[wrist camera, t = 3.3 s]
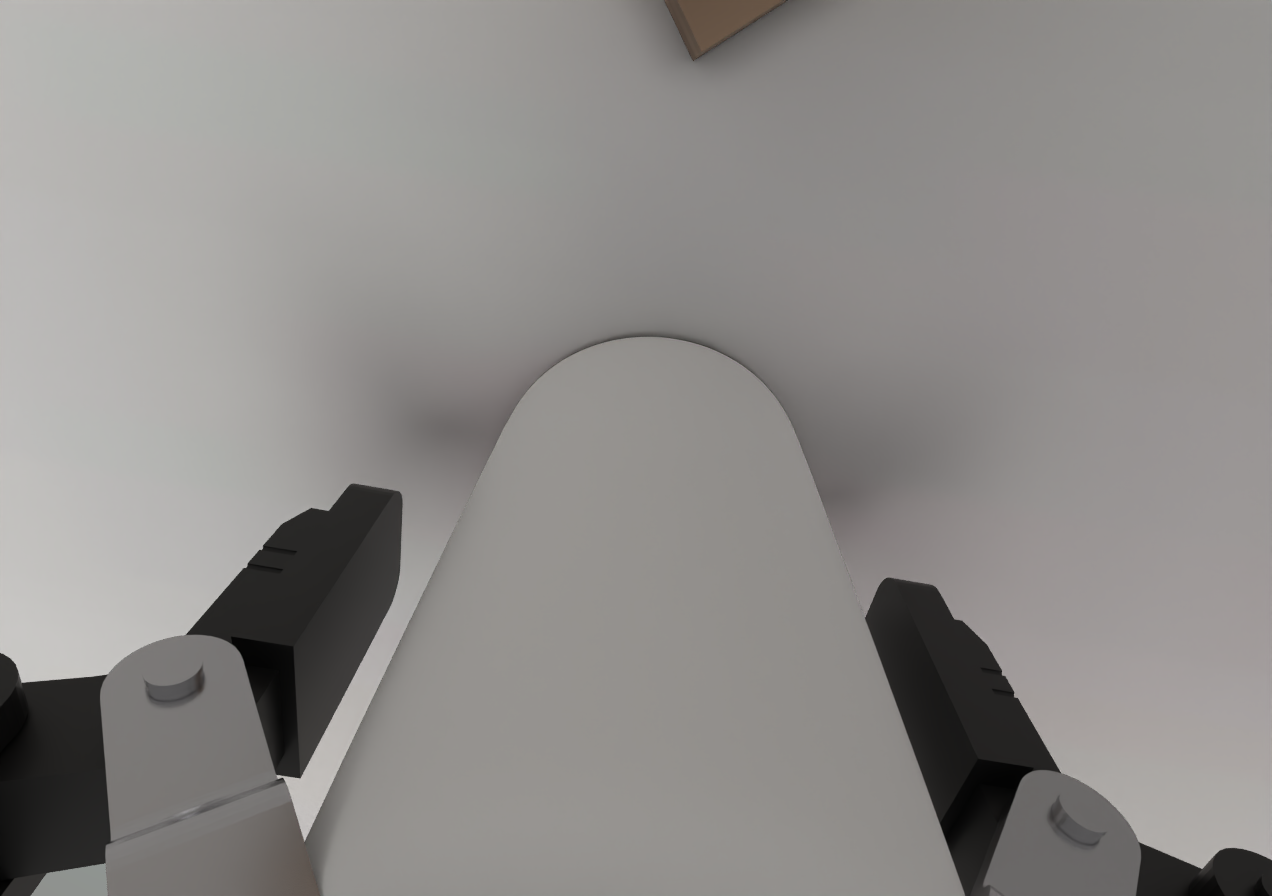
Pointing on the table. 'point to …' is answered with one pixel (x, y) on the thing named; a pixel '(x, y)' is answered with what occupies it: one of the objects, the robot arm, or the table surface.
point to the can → (636, 669)
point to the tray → (715, 20)
